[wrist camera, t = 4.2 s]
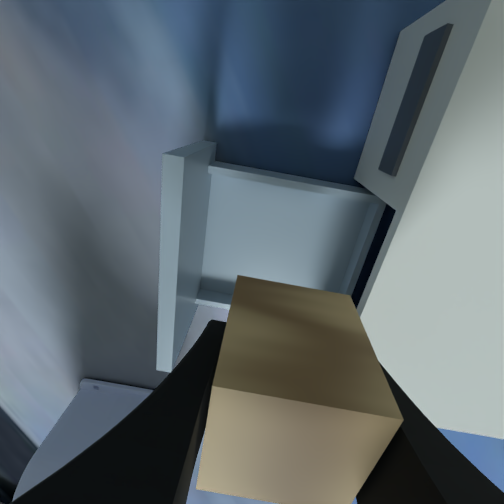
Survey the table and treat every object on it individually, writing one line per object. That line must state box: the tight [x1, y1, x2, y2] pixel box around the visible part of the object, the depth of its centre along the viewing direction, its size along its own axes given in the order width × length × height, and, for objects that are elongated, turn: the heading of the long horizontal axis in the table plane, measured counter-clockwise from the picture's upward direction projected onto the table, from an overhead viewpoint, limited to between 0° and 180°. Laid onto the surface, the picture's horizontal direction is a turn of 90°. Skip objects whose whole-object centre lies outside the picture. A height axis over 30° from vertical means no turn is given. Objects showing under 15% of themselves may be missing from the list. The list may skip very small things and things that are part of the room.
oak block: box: [196, 275, 404, 504], centre depth 10 cm, size 4×4×5 cm
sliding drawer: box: [156, 140, 387, 373], centre depth 16 cm, size 10×11×7 cm
